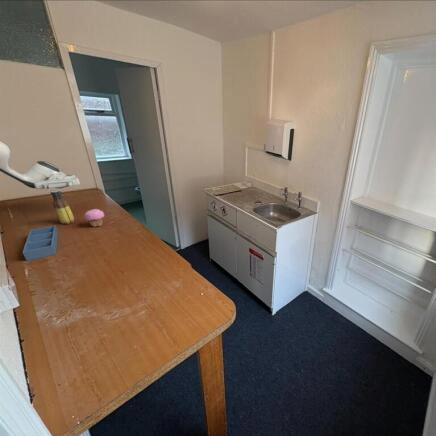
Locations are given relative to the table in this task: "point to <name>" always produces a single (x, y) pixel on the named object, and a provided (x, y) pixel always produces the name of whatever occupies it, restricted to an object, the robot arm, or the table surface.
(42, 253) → the tray
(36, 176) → the robot arm
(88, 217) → the cupcake
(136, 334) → the table surface
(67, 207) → the sauce bottle
